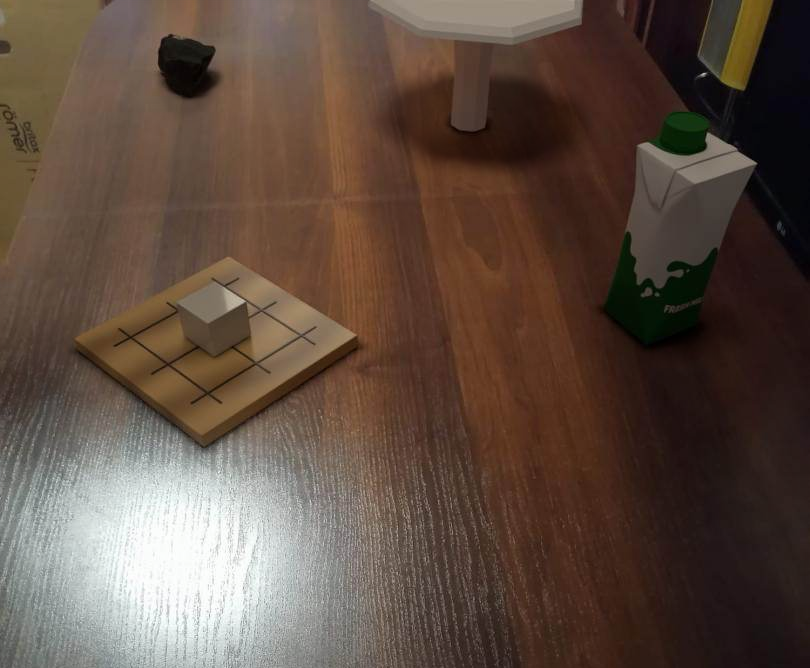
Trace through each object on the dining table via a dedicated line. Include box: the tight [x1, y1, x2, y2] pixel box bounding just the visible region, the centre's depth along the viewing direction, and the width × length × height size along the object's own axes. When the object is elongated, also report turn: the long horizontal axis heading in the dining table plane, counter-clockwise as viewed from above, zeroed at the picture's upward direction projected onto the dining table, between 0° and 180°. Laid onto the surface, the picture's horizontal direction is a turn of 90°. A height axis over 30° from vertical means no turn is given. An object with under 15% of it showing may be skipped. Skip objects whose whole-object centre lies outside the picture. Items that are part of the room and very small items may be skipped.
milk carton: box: [603, 110, 758, 346], centre depth 84 cm, size 9×9×20 cm
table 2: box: [367, 0, 584, 132], centre depth 112 cm, size 28×28×17 cm
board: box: [73, 255, 359, 448], centre depth 87 cm, size 20×20×2 cm
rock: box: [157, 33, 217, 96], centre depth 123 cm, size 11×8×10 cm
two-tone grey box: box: [176, 281, 251, 357], centre depth 85 cm, size 5×5×4 cm
